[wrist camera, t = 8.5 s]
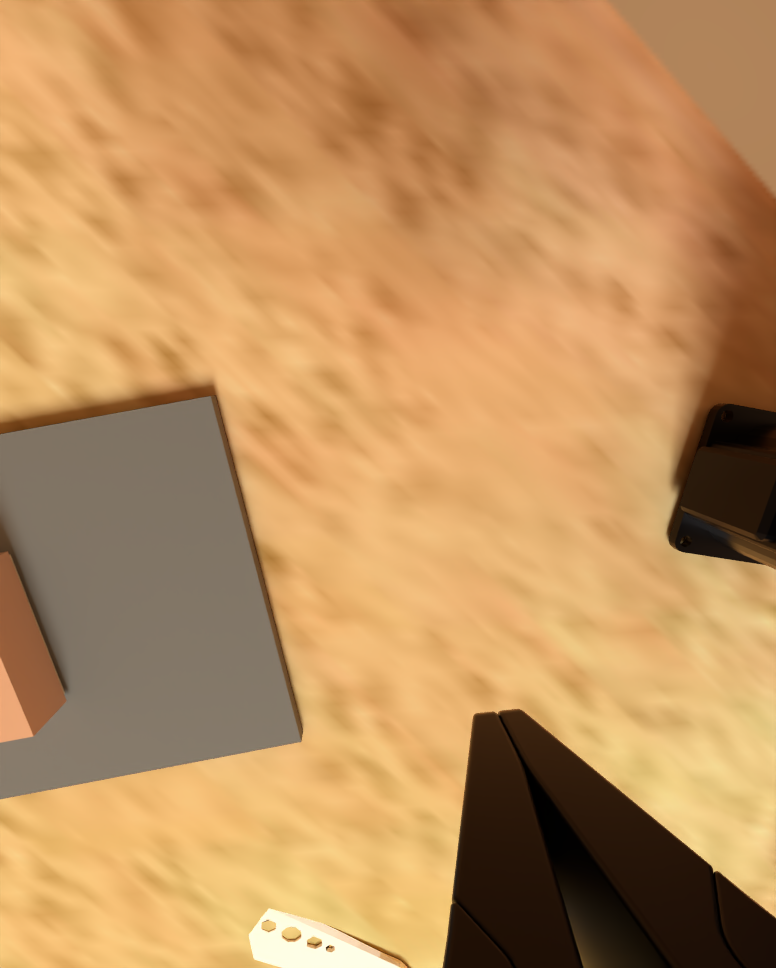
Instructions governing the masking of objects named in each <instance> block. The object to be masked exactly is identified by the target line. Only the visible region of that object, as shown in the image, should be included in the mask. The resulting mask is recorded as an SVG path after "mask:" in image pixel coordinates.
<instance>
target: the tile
mask: <svg viewBox="0 0 776 968" xmlns="http://www.w3.org/2000/svg"><path fill="white" fill-rule="evenodd" d="M64 694H65V692H64V689H63V687H62V684H61V682H60V679H59V677H58V674H57V671H56V669H55V666H54V664H53V661H52V659H51V656H50V654H49V651H48V649H47V646H46V643H45V641H44V638H43V636H42V633H41V631H40V628H39V626H38V623H37V620H36V618H35V615H34V613H33V610H32V608H31V605H30V603H29V600H28V597H27V595H26V592H25V590H24V587H23V585H22V582H21V580H20V577H19V575H18V572H17V569H16V567H15V564H14V562H13V559H12V557H11V554H9V553H8V551H7V552H2V553H0V743H2V742H7V741H12V740H17V739H23V738H28V737H33V736H35V734H36V733H37V732H38V731H39V730H40V729H41V728H42V727H43V726H44V725H45V724H46V723H47V722H48V721H49V719H50V718H51V717H52V716H53V715H54V714H55V713H56V712H57V711H58V710H59V709H60V708H61V707H62V706H63V705H64V703H65V702H66V698H65V695H64Z"/></svg>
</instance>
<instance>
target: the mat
mask: <svg viewBox="0 0 776 968" xmlns="http://www.w3.org/2000/svg"><path fill="white" fill-rule="evenodd" d="M7 551H8V553H9V554H11V557H12V559H13V562H14V564H15V567H16V569H17V572H18V575H19V577H20V580H21V582H22V585H23V587H24V590H25V592H26V595H27V597H28V600H29V603H30V605H31V608H32V610H33V613H34V615H35V618H36V620H37V623H38V626H39V628H40V631H41V633H42V636H43V638H44V641H45V643H46V646H47V649H48V651H49V654H50V656H51V659H52V661H53V664H54V666H55V669H56V671H57V674H58V677H59V679H60V682H61V684H62V687H63V689H64V692H65V694H64V695H65V698H66V702H65V703H64V705H63V706H62V707H61V708H60V709H59V710H58V711H57V712H56V713H55V714H54V715H53V716H52V717H51V718H50V719H49V721H48V722H47V723H46V724H45V725H44V726H43V727H42V728H41V729H40V730H39V731H38V732H37V733H36V734H35V736H33V737H28V738H23V739H17V740H12V741H7V742H2V743H0V799H4V798H9V797H15V796H20V795H25V794H30V793H36V792H41V791H46V790H51V789H57V788H62V787H67V786H72V785H78V784H83V783H88V782H93V781H98V780H104V779H109V778H114V777H119V776H125V775H130V774H135V773H140V772H146V771H151V770H156V769H161V768H166V767H172V766H177V765H182V764H187V763H193V762H198V761H203V760H208V759H214V758H219V757H224V756H229V755H235V754H240V753H245V752H250V751H255V750H261V749H266V748H271V747H276V746H282V745H287V744H292V743H297V742H301V740H302V734H303V730H302V727H301V723H300V719H299V715H298V711H297V707H296V703H295V700H294V696H293V692H292V688H291V684H290V680H289V677H288V673H287V669H286V665H285V661H284V657H283V653H282V650H281V646H280V642H279V638H278V634H277V630H276V626H275V623H274V619H273V615H272V611H271V607H270V603H269V599H268V596H267V592H266V588H265V584H264V580H263V576H262V573H261V569H260V565H259V561H258V557H257V553H256V549H255V546H254V542H253V538H252V534H251V530H250V526H249V522H248V519H247V515H246V511H245V507H244V503H243V499H242V495H241V492H240V488H239V484H238V480H237V476H236V472H235V468H234V465H233V461H232V457H231V453H230V449H229V445H228V442H227V438H226V434H225V430H224V426H223V422H222V418H221V415H220V411H219V407H218V403H217V399H216V396H208V397H202V398H197V399H191V400H186V401H180V402H175V403H169V404H164V405H158V406H153V407H147V408H142V409H136V410H131V411H125V412H120V413H114V414H109V415H103V416H98V417H92V418H87V419H81V420H76V421H70V422H65V423H59V424H54V425H48V426H43V427H37V428H32V429H26V430H21V431H15V432H10V433H4V434H0V553H2V552H7Z"/></svg>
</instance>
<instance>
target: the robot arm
mask: <svg viewBox="0 0 776 968" xmlns="http://www.w3.org/2000/svg"><path fill="white" fill-rule="evenodd" d="M724 411H725V413H726V417H725V418H724V420H722V419H721V416H722V414H723V412H724ZM684 536H685V540H684V542H683V543H681V544H680V542H681V539H682V538H683V537H684ZM669 543H670V545H671V546H672V547H673V548H675V549H677V550H679V551H681V552H685V553H692V554H698V555H705V556H711V557H718V558H724V559H731V560H737V561H743V562H750V563H756V564H763V565H767V566H769V567H772V568H774V569H776V412H770V411H765V410H760V409H755V408H749V407H744V406H739V405H733V404H718V405H715V406H714V407H713V408H712V409H711V410H710V412H709V415H708V418H707V421H706V424H705V427H704V430H703V433H702V437H701V440H700V443H699V446H698V449H697V452H696V455H695V458H694V462H693V465H692V468H691V471H690V474H689V477H688V480H687V483H686V486H685V490H684V493H683V496H682V499H681V502H680V505H679V508H678V511H677V515H676V518H675V521H674V524H673V527H672V530H671V533H670V536H669ZM443 968H776V918H775V917H774V916H773V915H772V914H770V913H769V912H768V911H767V910H765V909H764V908H763V907H762V906H760V905H759V904H758V903H757V902H755V901H754V900H753V899H751V898H750V897H749V896H748V895H747V894H745V893H744V892H743V891H742V890H740V889H739V888H738V887H737V886H736V885H734V884H733V883H732V882H731V881H729V880H728V879H727V878H726V877H725V876H723V875H722V874H721V873H720V872H718V871H715V872H714V874H713V868H712V866H711V865H710V864H708V863H707V862H706V861H705V860H704V859H702V858H701V857H700V856H699V855H698V854H696V853H695V852H694V851H693V850H691V849H690V848H689V847H688V846H687V845H685V844H684V843H683V842H682V841H681V840H679V839H678V838H677V837H676V836H674V835H673V834H672V833H671V832H670V831H668V830H667V829H666V828H665V827H664V826H662V825H661V824H660V823H659V822H657V821H656V820H655V819H654V818H653V817H651V816H650V815H649V814H648V813H647V812H645V811H644V810H643V809H642V808H640V807H639V806H638V805H637V804H636V803H634V802H633V801H632V800H631V799H630V798H628V797H627V796H626V795H625V794H623V793H622V792H621V791H620V790H619V789H617V788H616V787H615V786H614V785H613V784H611V783H610V782H609V781H608V780H606V779H605V778H604V777H603V776H602V775H600V774H599V773H598V772H597V771H595V770H594V769H593V768H592V767H591V766H589V765H588V764H587V763H586V762H585V761H583V760H582V759H581V758H580V757H578V756H577V755H576V754H575V753H574V752H572V751H571V750H570V749H569V748H568V747H566V746H565V745H564V744H563V743H561V742H560V741H559V740H558V739H557V738H555V737H554V736H553V735H552V734H551V733H549V732H548V731H547V730H546V729H544V728H543V727H542V726H541V725H540V724H538V723H537V722H536V721H535V720H534V719H532V718H531V717H530V716H529V715H527V714H526V713H525V712H524V711H522V710H520V709H512V710H503V711H500V712H499V713H498V714H497V713H495V712H485V713H476V714H475V715H474V716H473V722H472V731H471V739H470V748H469V757H468V765H467V774H466V783H465V791H464V800H463V808H462V817H461V826H460V834H459V843H458V851H457V860H456V869H455V877H454V886H453V895H452V905H451V909H450V917H449V926H448V935H447V942H446V949H445V956H444V962H443Z"/></svg>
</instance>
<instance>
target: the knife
mask: <svg viewBox="0 0 776 968" xmlns="http://www.w3.org/2000/svg"><path fill="white" fill-rule="evenodd" d="M269 920H270V921H273V922H275V923H276V929H274V930H271V931H269V932H268V931H266V930H263V929H261V926H262V922H265V921H269ZM286 927H296V928H297V929H299V930H300V931H301V936H300V937H299V938H297V939H296V940H287V939H286V938H284V937H283V936H282V931H283V930H284V929H285V928H286ZM313 936H314V937H317V938H319V939H322V943H320V944H319V945H318V946H315V945H310V944H307V940H308V939H309V938H311V937H313ZM249 939H250V944H251V948H252V953H253V957H254V959H255V960H258V961H261V962H264V963H267V964H271V965H275V966H279V967H282V968H407V966H406V965H405V964H404V963H402V962H401V961H400V960H399V959H396V958H394V957H392V956H390V955H387V954H385V953H383V952H381V951H378V950H376V949H374V948H372V947H370V946H368V945H366V944H364V943H362V942H360V941H358V940H356V939H354V938H352V937H350V936H348V935H346V934H344V933H342V932H340V931H338V930H336V929H334V928H332V927H330V926H327V925H325V924H323V923H319V922H316V921H313V920H309V919H306V918H302V917H299V916H296V915H292V914H288V913H285V912H281V911H277V910H273V909H268V911H267V912H266V913H265V914H264V915H263V916H262V917H261V919H260V921H259V922H258V923H257V925H256V926H255V927H254V929H253V930H252V931H251V933H250V934H249ZM329 945H332V946H334V947H333V948H328V947H329Z"/></svg>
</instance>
